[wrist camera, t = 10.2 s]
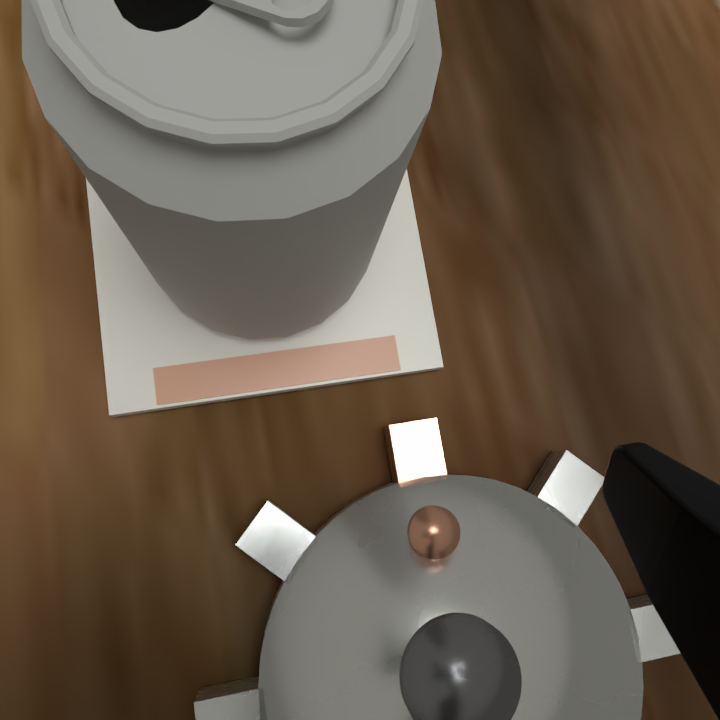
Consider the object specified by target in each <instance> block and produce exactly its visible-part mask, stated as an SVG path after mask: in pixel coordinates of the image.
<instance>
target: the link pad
mask: <svg viewBox="0 0 720 720" xmlns="http://www.w3.org/2000/svg"><path fill="white" fill-rule="evenodd" d="M86 183H87V193H88V204H89V214H90V224H91V234H92V245H93V255H94V265H95V275H96V285H97V296H98V306H99V316H100V326H101V336H102V347H103V357H104V367H105V377H106V388H107V398H108V408H109V416H113V417H118V416H125V415H132V414H139V413H146V412H153V411H159V410H166V409H173V408H180V407H187V406H194V405H201V404H207V403H214V402H221V401H228V400H235V399H242V398H249V397H255V396H262V395H269V394H276V393H283V392H290V391H297V390H303V389H310V388H317V387H324V386H331V385H338V384H345V383H351V382H358V381H365V380H372V379H379V378H386V377H393V376H399V375H406V374H413V373H420V372H427V371H434V370H439V369H441V368H442V367H443V362H442V357H441V351H440V346H439V340H438V335H437V330H436V324H435V319H434V314H433V308H432V303H431V297H430V292H429V287H428V281H427V276H426V270H425V265H424V260H423V254H422V249H421V244H420V238H419V233H418V227H417V222H416V217H415V211H414V206H413V200H412V195H411V190H410V184H409V179H408V174H407V169H406V171H405V174H404V176H403V179H402V181H401V184H400V187H399V189H398V192H397V194H396V197H395V199H394V202H393V204H392V207H391V210H390V212H389V215H388V217H387V220H386V222H385V225H384V227H383V230H382V233H381V235H380V238H379V240H378V243H377V245H376V248H375V250H374V253H373V256H372V258H371V261H370V263H369V266H368V268H367V271H366V273H365V275H364V276H363V278H362V279H361V281H360V283H359V284H358V286H357V287H356V289H355V291H354V292H353V294H352V295H351V297H350V299H349V300H348V301H347V302H346V303H345V304H344V305H343V306H341V307H340V308H339V309H338V310H337V311H335V312H334V313H333V314H332V315H331V316H329V317H328V318H327V319H326V320H324V321H323V322H322V323H321V324H318V325H316V326H313V327H311V328H308V329H306V330H303V331H301V332H298V333H295V334H293V335H290V336H288V337H277V338H263V339H246V338H242V337H238V336H234V335H229V334H225V333H221V332H217V331H213V330H211V329H210V328H208V327H206V326H205V325H203V324H201V323H200V322H198V321H197V320H195V319H193V318H192V317H190V316H188V315H187V314H185V313H183V312H182V311H181V310H180V309H179V308H178V307H177V306H176V304H175V303H174V302H173V301H172V300H171V299H170V298H169V296H168V295H167V294H166V293H165V292H164V291H163V289H162V288H161V287H160V286H159V285H158V284H157V282H156V281H155V279H154V278H153V276H152V275H151V273H150V272H149V270H148V269H147V267H146V266H145V264H144V263H143V261H142V260H141V258H140V257H139V255H138V254H137V252H136V251H135V250H134V248H133V247H132V245H131V244H130V242H129V241H128V239H127V238H126V236H125V235H124V233H123V232H122V230H121V229H120V227H119V226H118V224H117V223H116V221H115V220H114V219H113V217H112V216H111V214H110V213H109V211H108V210H107V208H106V207H105V205H104V204H103V202H102V201H101V199H100V198H99V196H98V195H97V193H96V192H95V190H94V189H93V188H92V186H91V185H90V183H89V182H88V180H87V179H86Z"/></svg>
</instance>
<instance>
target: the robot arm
mask: <svg viewBox="0 0 720 720" xmlns="http://www.w3.org/2000/svg"><path fill="white" fill-rule="evenodd" d="M603 496H604V499H605V502H606V504H607V506H608V509H609V511H610V513H611V515H612V518H613V520H614V522H615V524H616V527H617V529H618V531H619V533H620V536H621V538H622V540H623V542H624V545H625V547H626V549H627V552H628V554H629V556H630V558H631V561H632V563H633V565H634V567H635V570H636V572H637V574H638V576H639V578H640V581H641V583H642V585H643V587H644V589H645V591H646V593H647V595H648V597H649V599H650V600H651V602H652V604H653V606H654V608H655V610H656V611H657V613H658V615H659V617H660V618H661V620H662V622H663V624H664V625H665V627H666V629H667V631H668V632H669V634H670V636H671V638H672V639H673V641H674V643H675V644H676V646H677V648H678V650H679V651H680V653H681V655H682V657H683V658H684V660H685V662H686V664H687V665H688V667H689V669H690V671H691V672H692V674H693V676H694V678H695V679H696V681H697V683H698V685H699V686H700V688H701V690H702V692H703V693H704V695H705V697H706V699H707V700H708V702H709V704H710V706H711V707H712V709H713V711H714V713H715V714H716V716H717V718H718V720H720V485H719V484H717V483H716V482H714V481H712V480H710V479H708V478H707V477H705V476H703V475H701V474H699V473H698V472H696V471H694V470H692V469H690V468H689V467H687V466H685V465H683V464H681V463H680V462H678V461H676V460H674V459H672V458H671V457H669V456H667V455H665V454H663V453H662V452H660V451H658V450H656V449H654V448H653V447H651V446H649V445H647V444H645V443H640V442H638V443H631V444H625V445H619V446H617V447H615V448H614V449H613V451H612V453H611V456H610V459H609V463H608V467H607V470H606V474H605V477H604V481H603Z"/></svg>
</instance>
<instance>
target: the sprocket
mask: <svg viewBox="0 0 720 720" xmlns="http://www.w3.org/2000/svg"><path fill="white" fill-rule="evenodd" d="M383 429H384V435H385V441H386V447H387V453H388V459H389V465H390V471H391V477H392V483H390V484H387V485H385V486H382V487H379V488H377V489H374V490H372V491H370V492H368V493H366V494H364V495H363V496H361V497H359V498H357V499H355V500H354V501H352V502H350V503H349V504H347V505H346V506H345V507H343V508H342V509H341V510H339V511H338V512H337V513H335V514H334V515H333V516H331V517H330V518H329V519H328V520H327V521H326V522H325V523H324V524H323V525H322V526H321V527H320V528H319V529H318V530H317V531H316V532H315V533H314V532H312V531H311V530H309V529H308V528H307V527H305V526H304V525H303V524H301V523H300V522H299V521H297V520H296V519H295V518H293V517H292V516H290V515H289V514H288V513H286V512H285V511H284V510H282V509H281V508H280V507H278V506H277V505H276V504H274V503H273V502H272V501H270V500H269V499H268V501H267V502H266V503H265V505H264V506H263V508H262V509H261V510H260V512H259V513H258V514H257V516H256V517H255V519H254V520H253V521H252V523H251V524H250V525H249V527H248V528H247V529H246V531H245V532H244V534H243V535H242V536H241V538H240V539H239V540H238V542H237V543H236V546H237V547H239V548H240V549H241V550H243V551H244V552H245V553H247V554H248V555H250V556H251V557H252V558H254V559H255V560H256V561H258V562H259V563H260V564H262V565H263V566H264V567H266V568H267V569H268V570H270V571H271V572H273V573H274V574H275V575H277V576H278V577H279V578H281V579H282V582H281V584H280V586H279V588H278V591H277V593H276V595H275V597H274V600H273V603H272V606H271V609H270V613H269V616H268V619H267V622H266V627H265V632H264V638H263V643H262V649H261V656H260V666H259V676H256V677H251V678H247V679H242V680H237V681H232V682H227V683H223V684H218V685H213V686H208V687H204V688H199V690H198V693H197V696H196V698H195V701H194V709H195V718H196V720H641V715H642V701H643V669H642V662H644V661H649V660H653V659H658V658H662V657H666V656H671V655H675V654H680V651H679V650H678V648H677V646H676V644H675V643H674V641H673V639H672V638H671V636H670V634H669V632H668V631H667V629H666V627H665V625H664V624H663V622H662V620H661V618H660V617H659V615H658V613H657V611H656V610H655V608H654V606H653V604H652V602H651V600H650V599H649V597H648V595H642V596H637V597H632V598H628V599H626V597H625V595H624V592H623V590H622V587H621V585H620V583H619V582H618V580H617V578H616V576H615V574H614V573H613V571H612V569H611V567H610V565H609V564H608V562H607V561H606V560H605V558H604V557H603V555H602V554H601V553H600V551H599V550H598V549H597V547H596V546H595V544H594V543H593V542H592V541H591V540H590V539H589V538H588V537H587V536H586V535H585V534H584V532H583V531H582V530H581V529H580V528H579V527H578V524H579V522H580V521H581V519H582V517H583V516H584V514H585V512H586V511H587V509H588V507H589V506H590V504H591V502H592V501H593V499H594V497H595V496H596V494H597V492H598V491H599V489H600V487H601V486H602V484H603V481H604V477H603V476H601V475H600V474H599V473H597V472H596V471H595V470H593V469H592V468H590V467H589V466H588V465H586V464H585V463H584V462H582V461H581V460H580V459H578V458H577V457H575V456H574V455H573V454H571V453H570V452H569V451H567V450H561V451H551V453H550V454H549V456H548V458H547V459H546V461H545V462H544V464H543V466H542V467H541V469H540V470H539V472H538V473H537V475H536V477H535V478H534V480H533V481H532V483H531V485H530V486H529V488H528V489H527V491H524V490H522V489H520V488H518V487H516V486H512V485H509V484H506V483H503V482H500V481H497V480H493V479H487V478H482V477H476V476H469V475H447V471H446V466H445V460H444V455H443V449H442V444H441V438H440V433H439V427H438V422H437V418H432V419H425V420H419V421H412V422H406V423H400V424H393V425H388V426H386V427H384V428H383Z"/></svg>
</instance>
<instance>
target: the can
mask: <svg viewBox="0 0 720 720" xmlns="http://www.w3.org/2000/svg"><path fill="white" fill-rule="evenodd" d="M441 56H442V50H441V43H440V35H439V28H438V20H437V12H436V5H435V0H22V60H23V62H24V65H25V67H26V70H27V72H28V75H29V77H30V80H31V83H32V85H33V88H34V90H35V93H36V95H37V98H38V101H39V103H40V106H41V108H42V111H43V113H44V116H45V118H46V120H47V121H48V123H49V124H50V125H51V127H52V128H53V130H54V131H55V133H56V134H57V136H58V137H59V139H60V140H61V142H62V143H63V145H64V146H65V148H66V149H67V151H68V152H69V154H70V155H71V156H72V158H73V159H74V161H75V162H76V164H77V165H78V167H79V168H80V170H81V171H82V173H83V174H84V176H85V177H86V179H87V180H88V182H89V183H90V185H91V186H92V188H93V189H94V190H95V192H96V193H97V195H98V196H99V198H100V199H101V201H102V202H103V204H104V205H105V207H106V208H107V210H108V211H109V213H110V214H111V216H112V217H113V219H114V220H115V221H116V223H117V224H118V226H119V227H120V229H121V230H122V232H123V233H124V235H125V236H126V238H127V239H128V241H129V242H130V244H131V245H132V247H133V248H134V250H135V251H136V252H137V254H138V255H139V257H140V258H141V260H142V261H143V263H144V264H145V266H146V267H147V269H148V270H149V272H150V273H151V275H152V276H153V278H154V279H155V281H156V282H157V284H158V285H159V286H160V287H161V288H162V289H163V291H164V292H165V293H166V294H167V295H168V296H169V298H170V299H171V300H172V301H173V302H174V303H175V304H176V306H177V307H178V308H179V309H180V310H181V311H182V312H183V313H185V314H187V315H188V316H190V317H192V318H193V319H195V320H197V321H198V322H200V323H201V324H203V325H205V326H206V327H208V328H210V329H211V330H213V331H217V332H221V333H225V334H229V335H234V336H238V337H242V338H246V339H263V338H277V337H288V336H290V335H293V334H295V333H298V332H301V331H303V330H306V329H308V328H311V327H313V326H316V325H318V324H321V323H322V322H323V321H324V320H326V319H327V318H328V317H329V316H331V315H332V314H333V313H334V312H335V311H337V310H338V309H339V308H340V307H341V306H343V305H344V304H345V303H346V302H347V301H348V300H349V299H350V297H351V295H352V294H353V292H354V291H355V289H356V287H357V286H358V284H359V283H360V281H361V279H362V278H363V276H364V275H365V273H366V271H367V268H368V266H369V263H370V261H371V258H372V256H373V253H374V250H375V248H376V245H377V243H378V240H379V238H380V235H381V233H382V230H383V227H384V225H385V222H386V220H387V217H388V215H389V212H390V210H391V207H392V204H393V202H394V199H395V197H396V194H397V192H398V189H399V187H400V184H401V181H402V179H403V176H404V174H405V171H406V169H407V166H408V163H409V161H410V158H411V156H412V153H413V151H414V148H415V146H416V143H417V140H418V138H419V135H420V133H421V130H422V128H423V125H424V123H425V120H426V117H427V115H428V112H429V110H430V106H431V102H432V97H433V92H434V88H435V83H436V79H437V74H438V70H439V65H440V60H441Z"/></svg>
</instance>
